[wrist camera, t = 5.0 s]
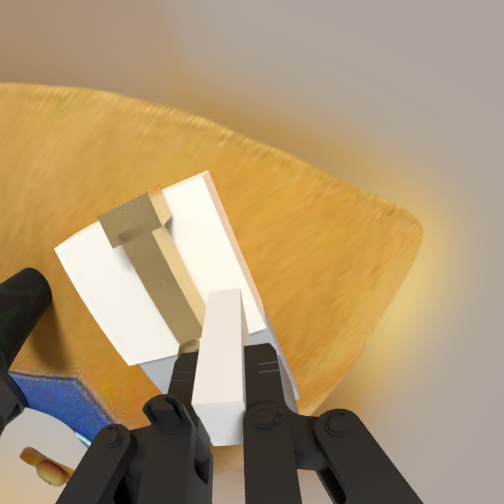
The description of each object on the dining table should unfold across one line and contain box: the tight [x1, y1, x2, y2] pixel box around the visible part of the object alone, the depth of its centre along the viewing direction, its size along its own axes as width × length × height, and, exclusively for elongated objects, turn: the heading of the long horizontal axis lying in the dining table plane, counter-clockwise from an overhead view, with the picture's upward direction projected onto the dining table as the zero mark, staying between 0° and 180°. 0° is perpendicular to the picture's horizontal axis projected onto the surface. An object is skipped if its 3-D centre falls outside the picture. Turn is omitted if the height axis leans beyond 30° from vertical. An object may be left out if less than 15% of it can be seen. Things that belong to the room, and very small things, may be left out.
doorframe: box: [54, 171, 300, 414], centre depth 25 cm, size 15×28×9 cm, turn 20°
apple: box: [36, 461, 65, 487], centre depth 46 cm, size 10×10×8 cm
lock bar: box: [97, 185, 206, 357], centre depth 21 cm, size 4×15×3 cm, turn 20°
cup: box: [0, 268, 52, 375], centre depth 21 cm, size 8×8×12 cm
